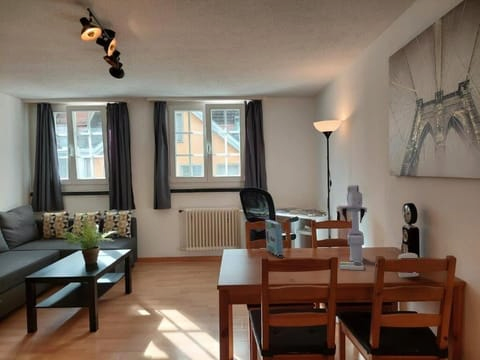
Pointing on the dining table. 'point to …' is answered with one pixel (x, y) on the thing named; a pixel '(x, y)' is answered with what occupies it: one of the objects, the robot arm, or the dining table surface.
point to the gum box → (274, 237)
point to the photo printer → (408, 255)
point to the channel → (350, 266)
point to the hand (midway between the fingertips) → (353, 221)
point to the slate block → (357, 262)
